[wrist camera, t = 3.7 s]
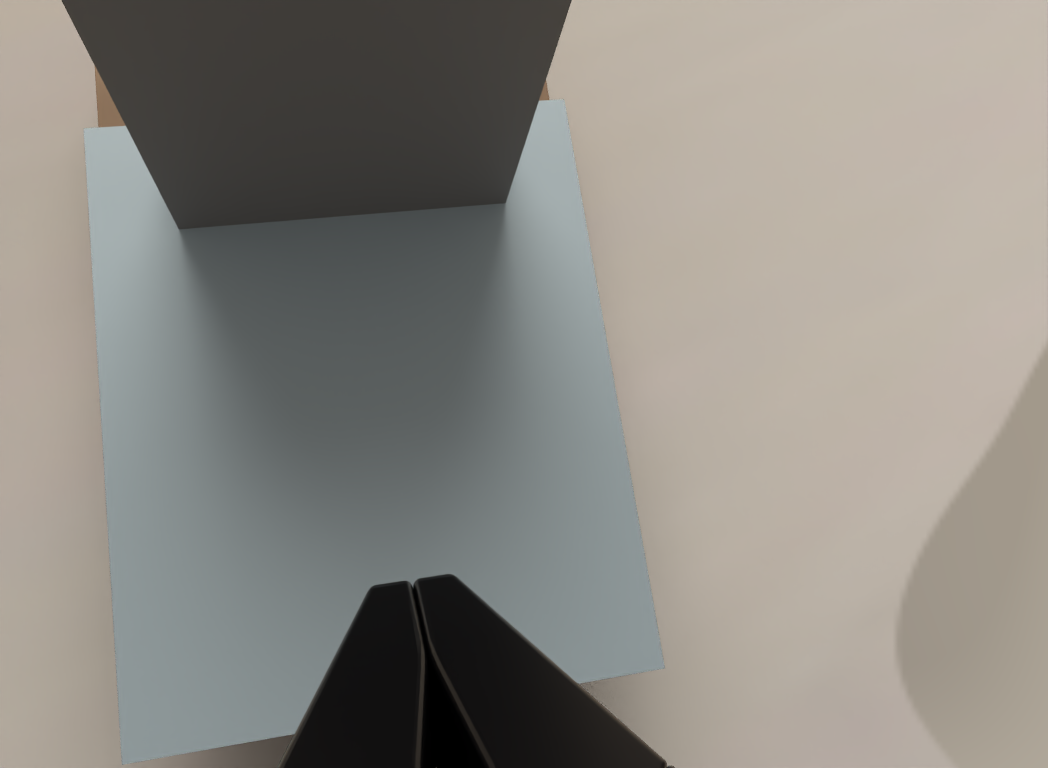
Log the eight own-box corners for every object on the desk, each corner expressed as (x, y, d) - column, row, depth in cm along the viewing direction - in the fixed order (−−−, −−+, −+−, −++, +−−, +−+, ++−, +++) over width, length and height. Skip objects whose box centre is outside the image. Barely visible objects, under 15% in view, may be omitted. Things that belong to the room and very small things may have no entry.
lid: (651, 666, 17) (894, 713, 9) (134, 757, 16) (-119, 912, 8) (556, 119, 20) (685, -225, 12) (95, 149, 18) (-131, -229, 10)
